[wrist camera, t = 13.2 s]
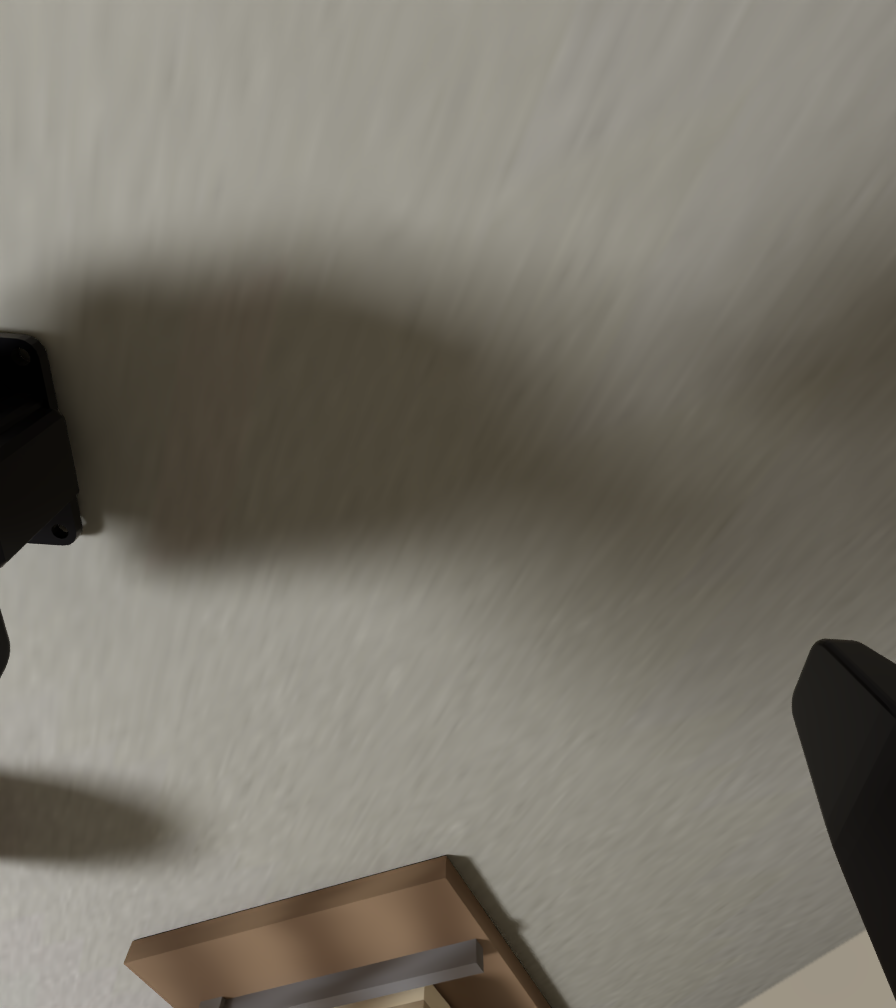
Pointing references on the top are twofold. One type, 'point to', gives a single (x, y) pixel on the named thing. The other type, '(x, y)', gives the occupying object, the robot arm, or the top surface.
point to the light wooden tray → (405, 1000)
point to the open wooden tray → (342, 949)
